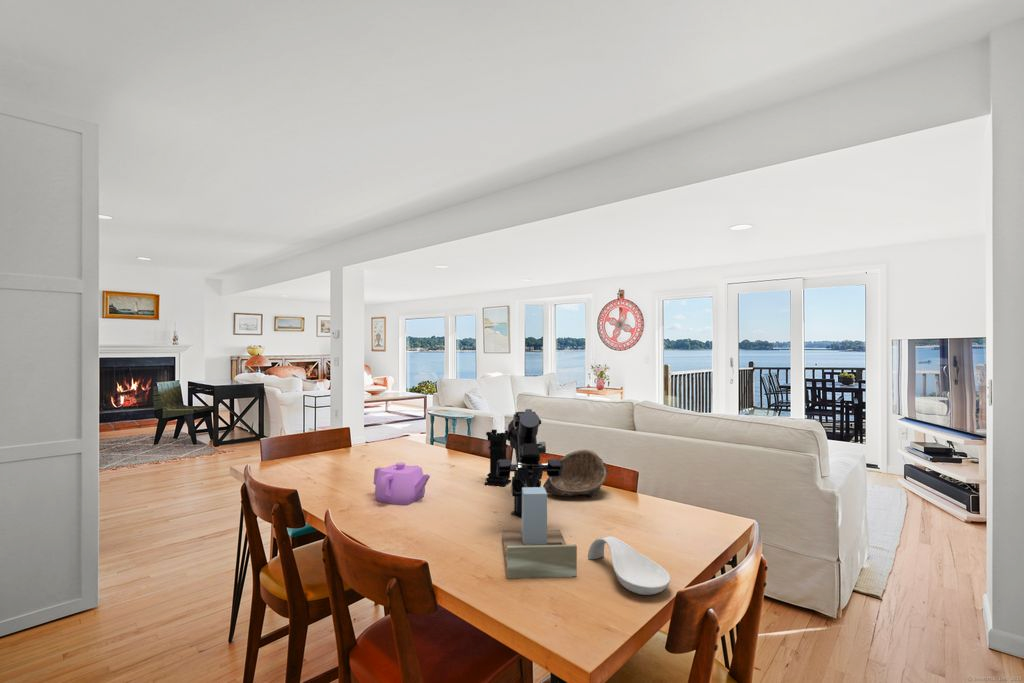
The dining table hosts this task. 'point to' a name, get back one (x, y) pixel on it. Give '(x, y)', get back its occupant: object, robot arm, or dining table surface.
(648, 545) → the dining table surface
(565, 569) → the board
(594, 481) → the coconut shell half
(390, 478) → the teakettle
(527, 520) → the blue block
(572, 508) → the dining table surface
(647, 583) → the spoon rest
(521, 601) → the dining table surface
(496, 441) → the chess piece
